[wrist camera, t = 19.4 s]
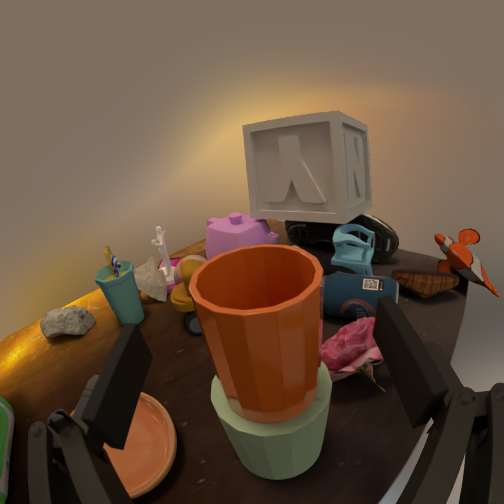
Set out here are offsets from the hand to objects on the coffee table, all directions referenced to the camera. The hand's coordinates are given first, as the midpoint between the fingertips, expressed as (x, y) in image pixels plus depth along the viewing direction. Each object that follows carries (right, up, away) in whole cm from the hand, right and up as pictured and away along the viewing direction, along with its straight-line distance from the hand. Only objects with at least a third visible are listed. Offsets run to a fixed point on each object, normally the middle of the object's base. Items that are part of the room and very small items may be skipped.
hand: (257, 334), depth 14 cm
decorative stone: (-38, -12, +33) cm, 51 cm away
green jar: (+3, -17, +10) cm, 20 cm away
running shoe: (+17, +8, +45) cm, 49 cm away
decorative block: (+13, +12, +42) cm, 46 cm away
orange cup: (+1, -6, +5) cm, 8 cm away
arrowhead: (-23, +3, +40) cm, 46 cm away
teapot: (-2, 0, +47) cm, 47 cm away
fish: (+37, +1, +22) cm, 43 cm away
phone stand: (+18, -3, +35) cm, 39 cm away
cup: (-23, -9, +34) cm, 42 cm away
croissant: (+31, +1, +28) cm, 41 cm away
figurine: (-19, -1, +46) cm, 49 cm away
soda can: (+22, -3, +24) cm, 33 cm away
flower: (+12, -12, +18) cm, 25 cm away
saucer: (-16, -19, +10) cm, 27 cm away
